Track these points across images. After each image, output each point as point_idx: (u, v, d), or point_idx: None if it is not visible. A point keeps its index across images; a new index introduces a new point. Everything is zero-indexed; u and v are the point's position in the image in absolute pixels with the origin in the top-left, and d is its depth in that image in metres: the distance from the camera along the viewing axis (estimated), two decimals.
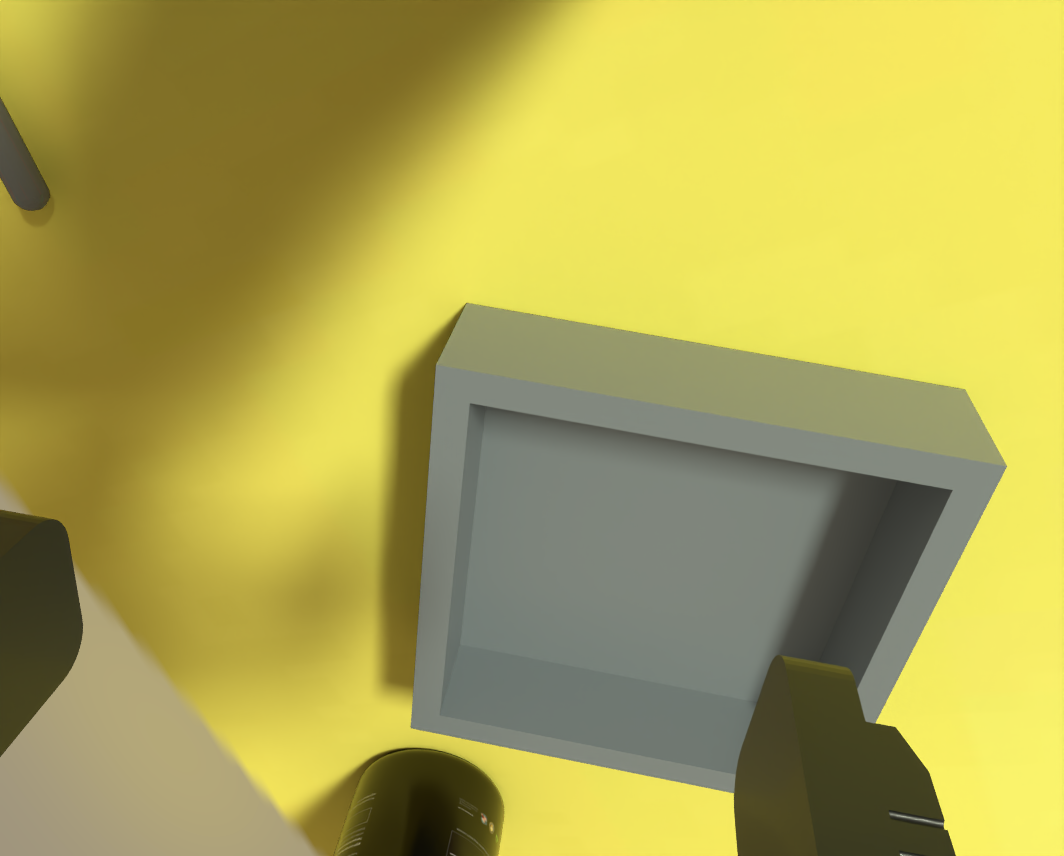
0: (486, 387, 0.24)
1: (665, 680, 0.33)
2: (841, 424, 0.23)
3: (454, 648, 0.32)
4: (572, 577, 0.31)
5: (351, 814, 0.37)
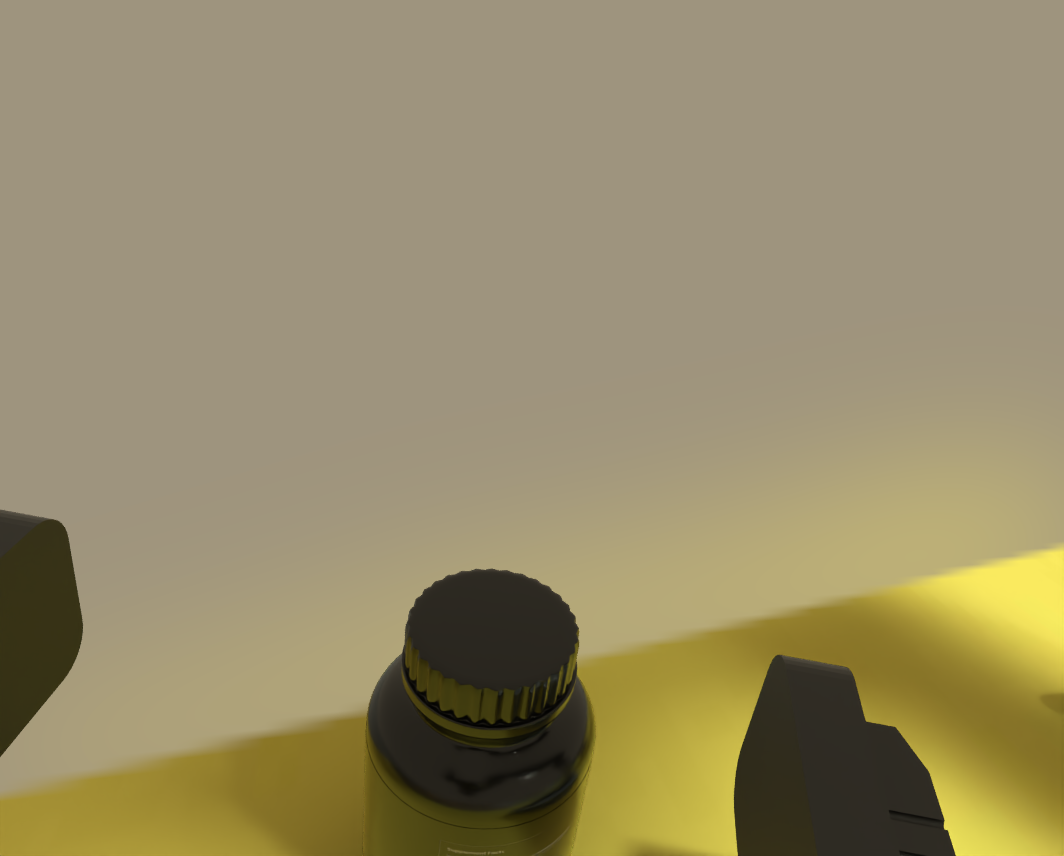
0: None
1: None
2: None
3: None
4: None
5: None
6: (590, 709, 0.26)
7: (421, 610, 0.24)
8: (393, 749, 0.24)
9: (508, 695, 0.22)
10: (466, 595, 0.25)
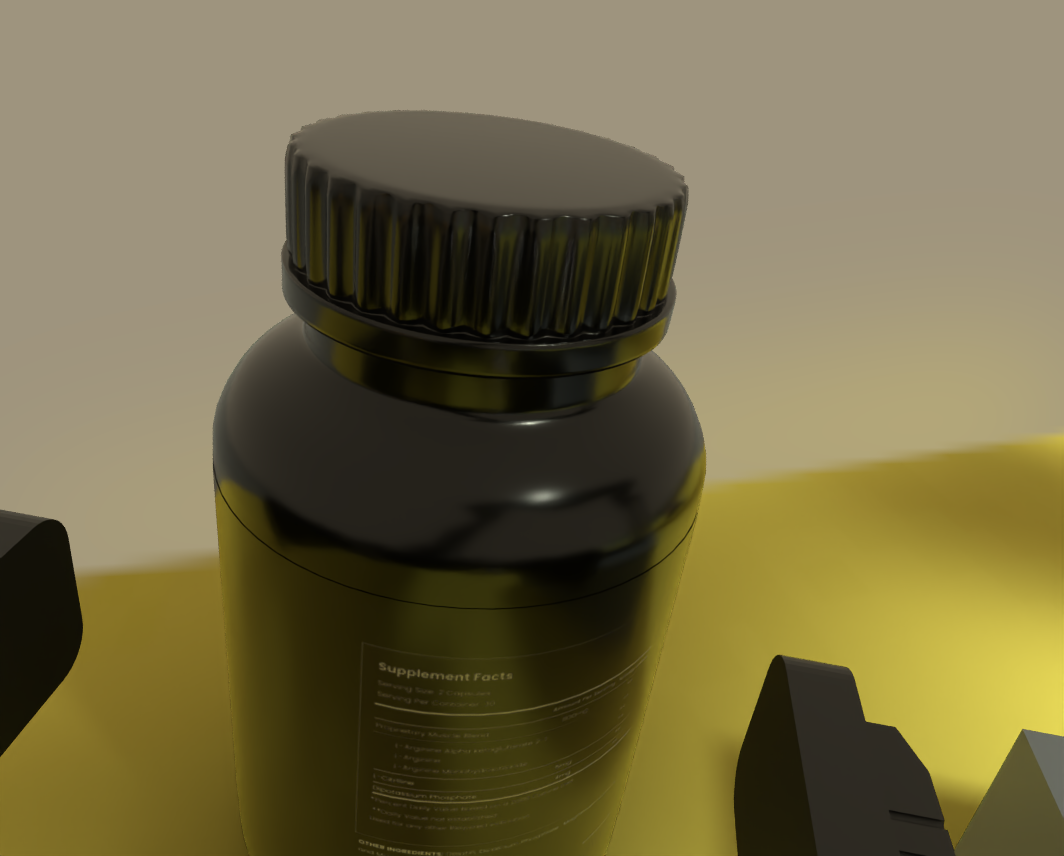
0: None
1: None
2: None
3: None
4: None
5: None
6: (693, 407, 0.12)
7: (327, 127, 0.11)
8: (255, 432, 0.10)
9: (528, 237, 0.09)
10: (432, 125, 0.11)
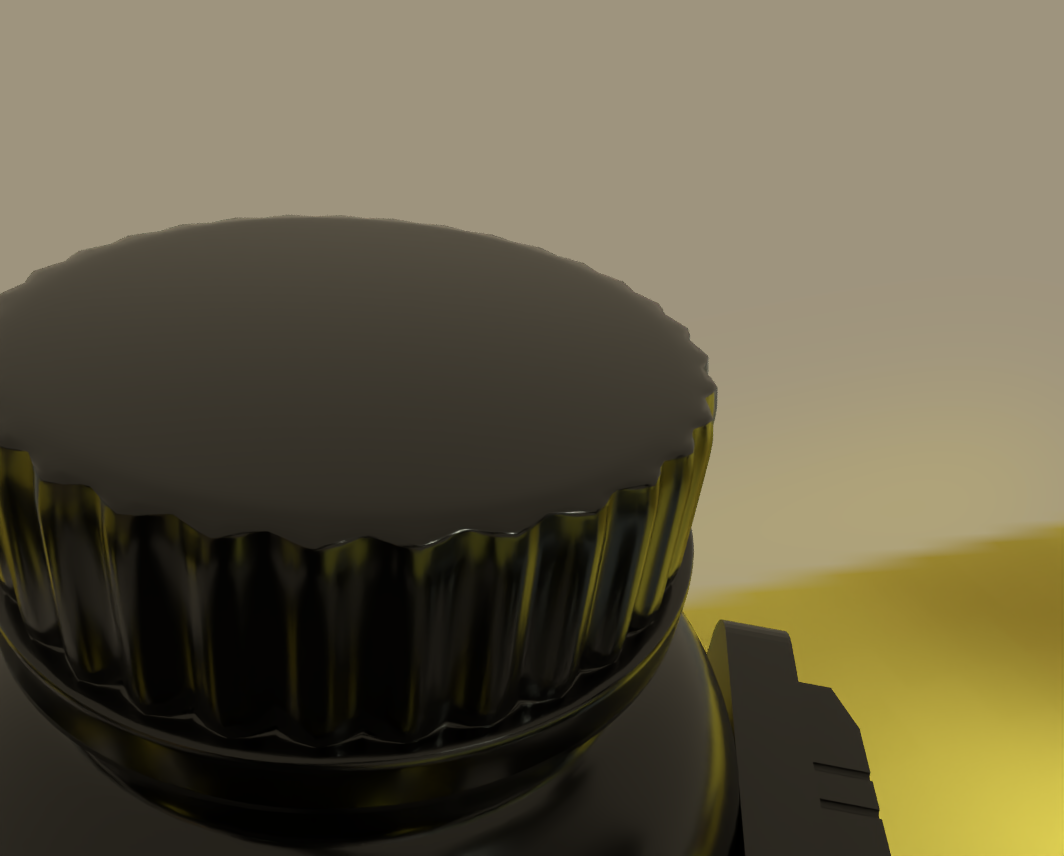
0: None
1: None
2: None
3: None
4: None
5: None
6: (718, 687, 0.08)
7: (78, 273, 0.06)
8: None
9: (390, 580, 0.04)
10: (281, 254, 0.07)
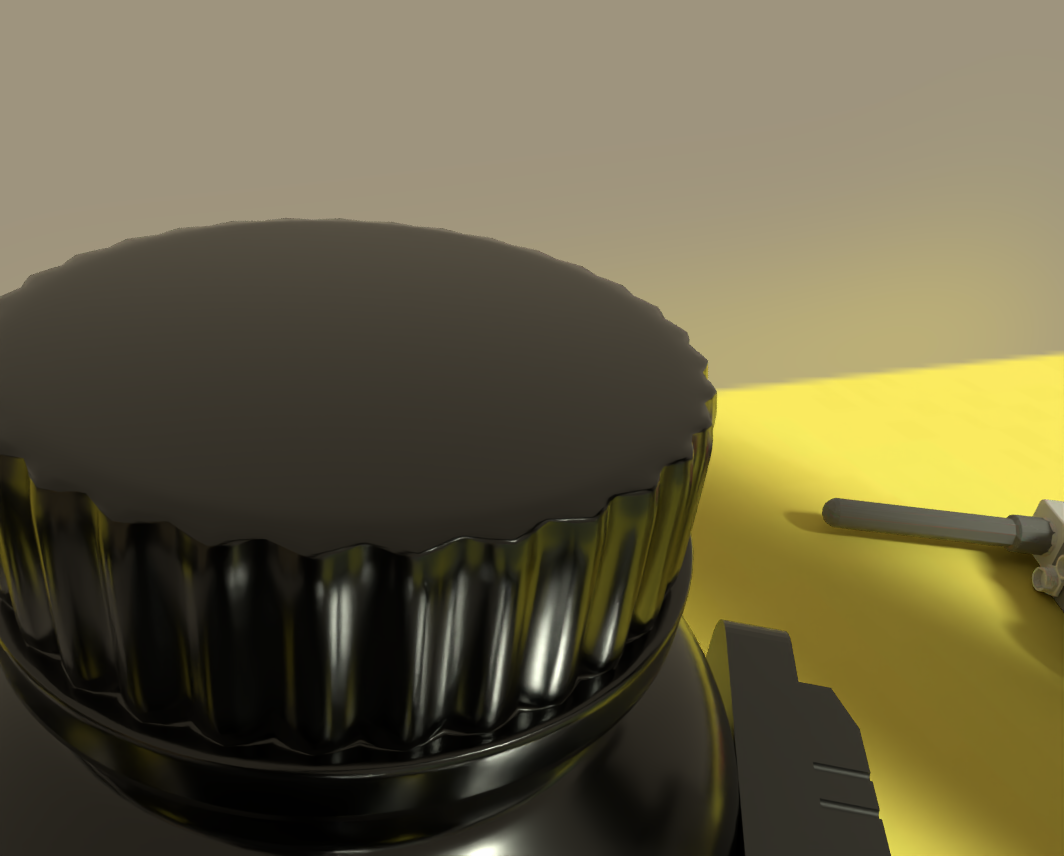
0: None
1: None
2: None
3: None
4: None
5: None
6: (717, 691, 0.08)
7: (75, 278, 0.06)
8: None
9: (387, 587, 0.04)
10: (279, 258, 0.07)
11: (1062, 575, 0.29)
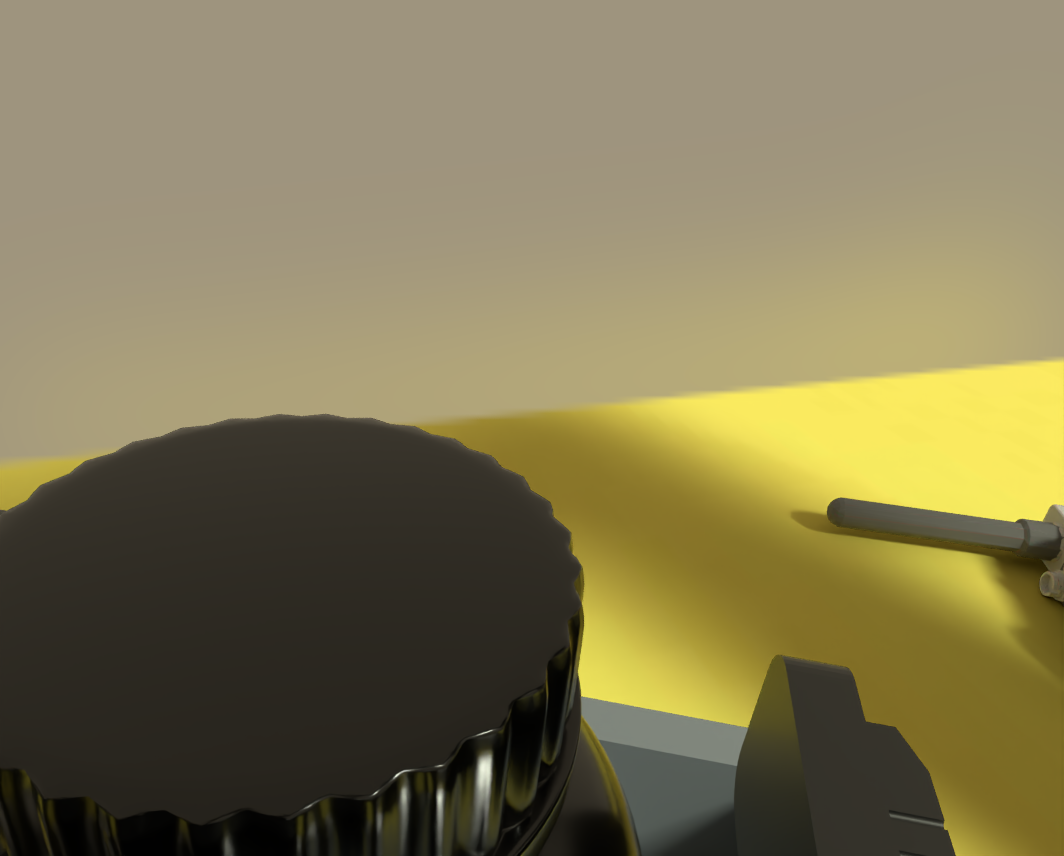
0: None
1: None
2: None
3: None
4: None
5: None
6: (628, 829, 0.09)
7: (36, 516, 0.07)
8: None
9: (268, 840, 0.05)
10: (216, 474, 0.08)
11: None
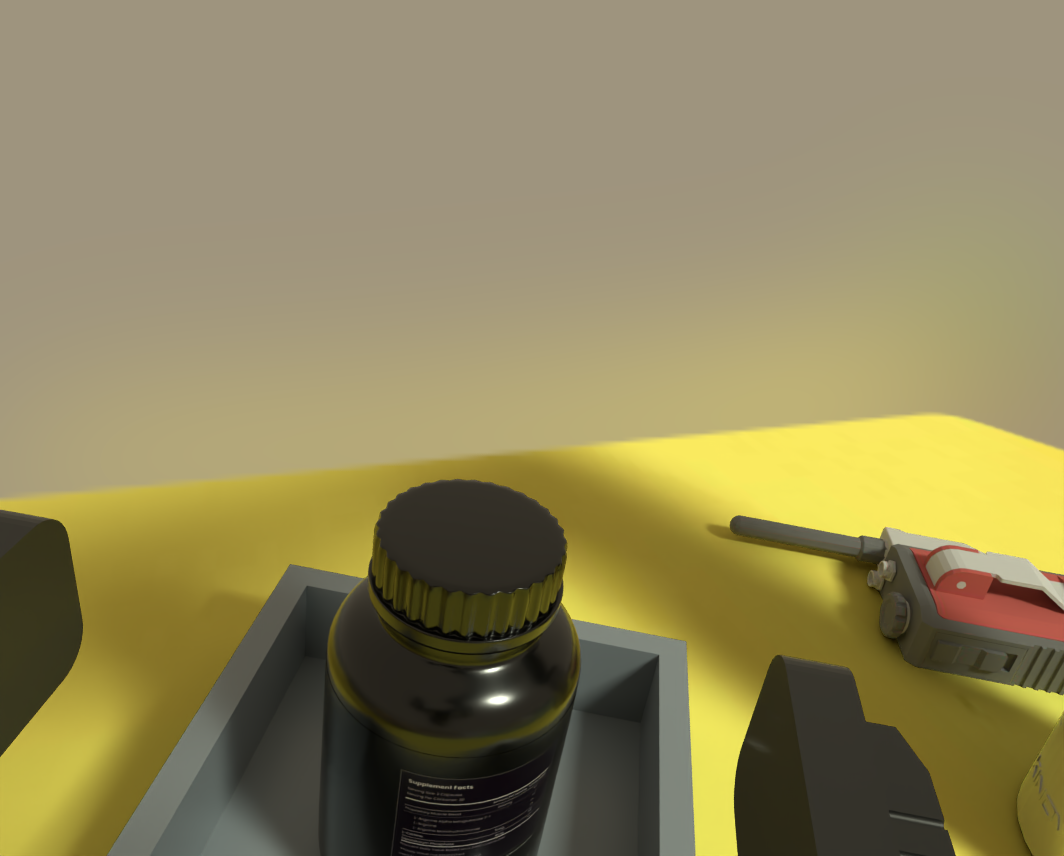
0: (675, 665, 0.31)
1: (219, 833, 0.27)
2: None
3: None
4: None
5: None
6: (576, 640, 0.23)
7: (393, 513, 0.22)
8: (354, 665, 0.21)
9: (484, 601, 0.20)
10: (444, 502, 0.23)
11: (880, 574, 0.43)
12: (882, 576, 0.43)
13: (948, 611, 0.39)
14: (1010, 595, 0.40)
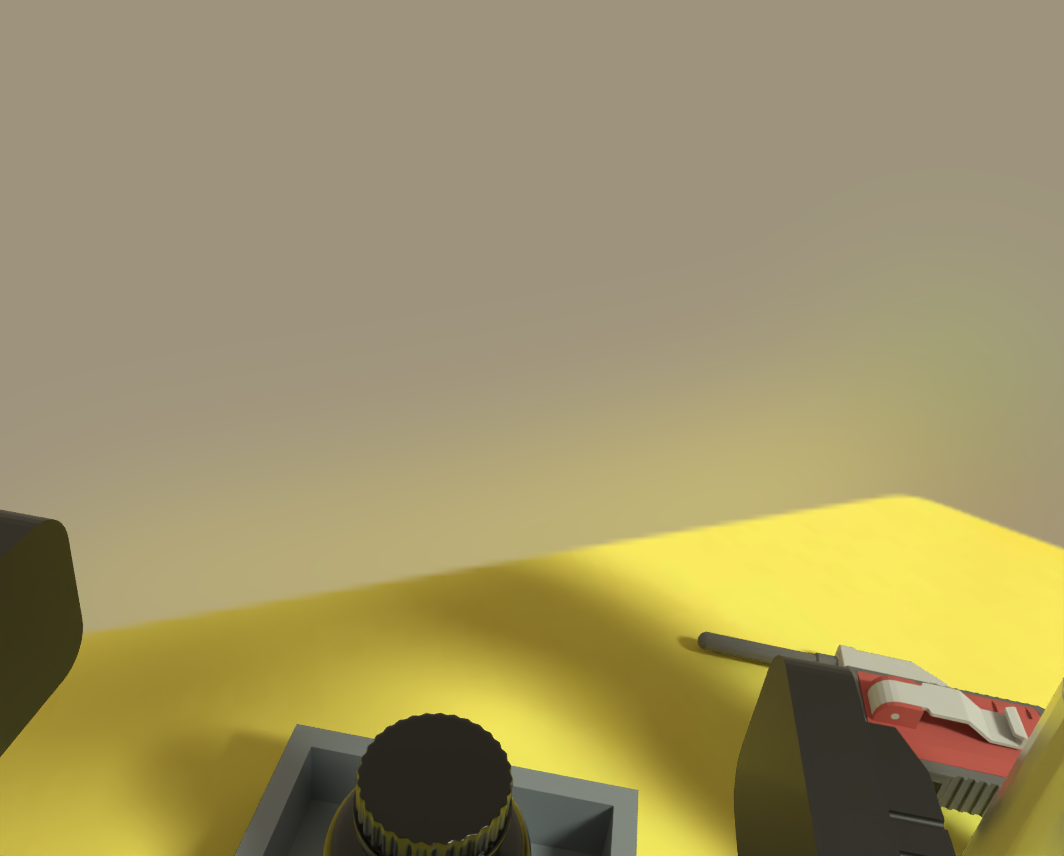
0: (627, 816, 0.36)
1: None
2: None
3: (340, 783, 0.38)
4: None
5: None
6: (526, 844, 0.29)
7: (371, 758, 0.27)
8: None
9: (441, 848, 0.25)
10: (413, 742, 0.28)
11: None
12: None
13: None
14: (942, 724, 0.45)
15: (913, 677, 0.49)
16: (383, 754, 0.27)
